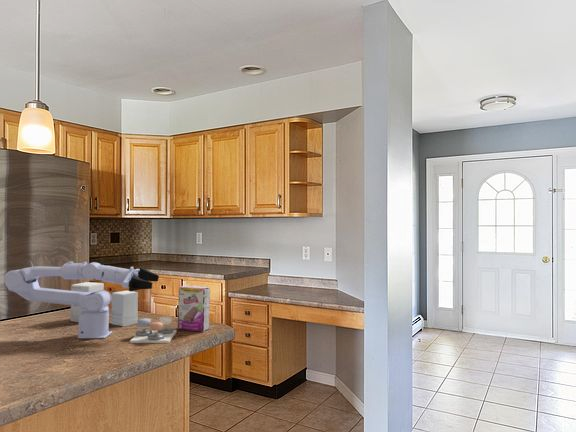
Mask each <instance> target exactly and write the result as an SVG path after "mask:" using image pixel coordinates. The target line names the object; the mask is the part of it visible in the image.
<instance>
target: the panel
mask: <svg viewBox="0 0 576 432" xmlns="http://www.w3.org/2000/svg"><path fill="white" fill-rule="evenodd" d="M177 332H178V329H174V328H173V327H168V326H163V329H162V330H157V331H152V330H149V329H147V328H141V329H139V330H138V329H137V330H136V331H135V335H134V336H133V337H132V338H131V339H129V343H130V344H134V343H135V344H169V343H170V342H171V340H172V339H173V338H174V336H175V335H176V334H177Z"/></svg>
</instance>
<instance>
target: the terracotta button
mask: <svg viewBox="0 0 576 432" xmlns="http://www.w3.org/2000/svg"><path fill="white" fill-rule="evenodd" d="M148 327H149V329H148V330H152V331H157V330H162V329H163V328H164V325H163V322H159V321H151V323H150V326H148Z"/></svg>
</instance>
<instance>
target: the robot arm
mask: <svg viewBox="0 0 576 432" xmlns="http://www.w3.org/2000/svg"><path fill="white" fill-rule="evenodd" d="M134 267H135V266H130V268H123V267H117V266H112V265H104V264H101V263H99V262H96V261H93V262H90V263H88V262H87V261H83V262H78V263H77V262H75V263H74V261H68V262H66V263H64V264H63V265H62V266H44V265H43V266H41V265H40V266H39V265H38V266H37V265H36V266H31V267H30V266H29V267H24V268H21V269H16V270H15V269H14V270H13V269H12V270H9V271H7V272H6V273H5V275H4V277H3V282H4V284H5V286H6V288H7V289H8V291H10V292H12V293H16V294H17V295H18V296H20V297H21V298H23V299H24V300H27V301H29V302H36V303H45V304H46V303H48V304H58V305H67V306H71V305H75V306H79V307H80V308H84V309H86V310H87V311H82V312H81V313H80V316H79V322H78V333H77V334H78V335H77V339H106V338H107V337H109V336H110V335H111V334H113V331H112V330H110V331H109V325H110V324H109V321H110V316H109V315H110V308H109V305H110V304H112V293H110V292H109V291H107V289H106V290H100V291H98V292H78V291H71V290H67V289H57V288H49V287H48V288H46V287H41V286H40V285H39V280H38V279H40V277H62V279H64V280H86V281H87V282H89V281H93V280H96V281H102V282H106V283H111V284H116V285H122V286H121V288H124V289H128V291H131V292H132V291H133V292H136V291H137V290H138V291H139V290H151V289H153V282H158V281H159V278H160V277H159V276H160V275H159V274H157V273H154V272H152V271H150V270H148V269H147V268H145V267H144V266H140V268H136V269H134Z"/></svg>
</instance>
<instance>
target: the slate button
mask: <svg viewBox="0 0 576 432" xmlns="http://www.w3.org/2000/svg"><path fill="white" fill-rule="evenodd" d="M151 322H152V319H151V318H146V317H145V318H138V320H137V323H136V325H137V327H138V328H145V327H146V328H147V327H149V326H150V323H151Z"/></svg>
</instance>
